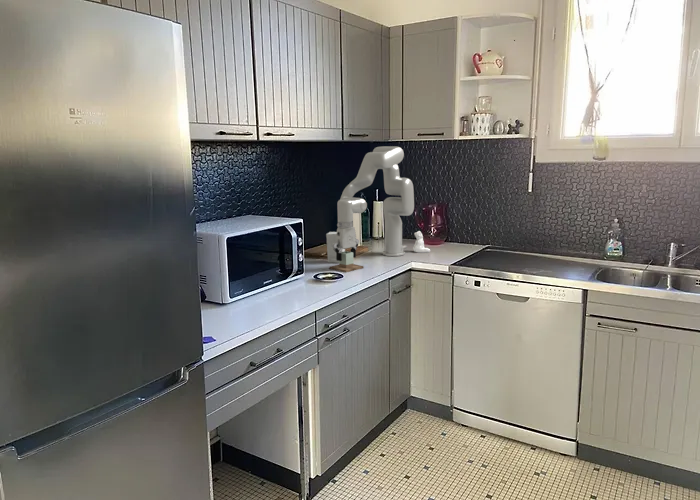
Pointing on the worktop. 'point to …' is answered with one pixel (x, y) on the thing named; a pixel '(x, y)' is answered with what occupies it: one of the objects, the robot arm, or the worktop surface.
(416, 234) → the white creature statuette
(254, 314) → the worktop surface
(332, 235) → the skincare box
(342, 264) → the sleeve
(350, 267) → the pin board
